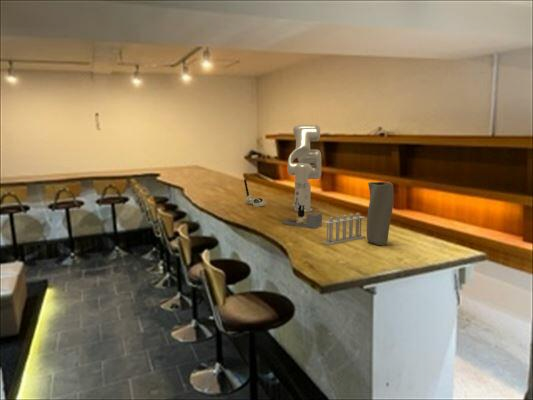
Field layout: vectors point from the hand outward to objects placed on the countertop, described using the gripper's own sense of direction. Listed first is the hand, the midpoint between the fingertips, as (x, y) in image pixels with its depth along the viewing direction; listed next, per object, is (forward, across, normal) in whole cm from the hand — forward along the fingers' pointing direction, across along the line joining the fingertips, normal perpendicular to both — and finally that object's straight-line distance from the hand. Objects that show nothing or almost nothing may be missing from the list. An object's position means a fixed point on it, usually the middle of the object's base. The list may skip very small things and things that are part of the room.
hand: (301, 216), depth 242 cm
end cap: (+5, 0, -8) cm, 10 cm away
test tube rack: (+6, -18, -34) cm, 39 cm away
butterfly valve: (+6, +40, +58) cm, 71 cm away
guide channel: (+5, 0, +3) cm, 6 cm away
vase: (+6, -15, -51) cm, 53 cm away
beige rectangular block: (+6, 0, -4) cm, 7 cm away
